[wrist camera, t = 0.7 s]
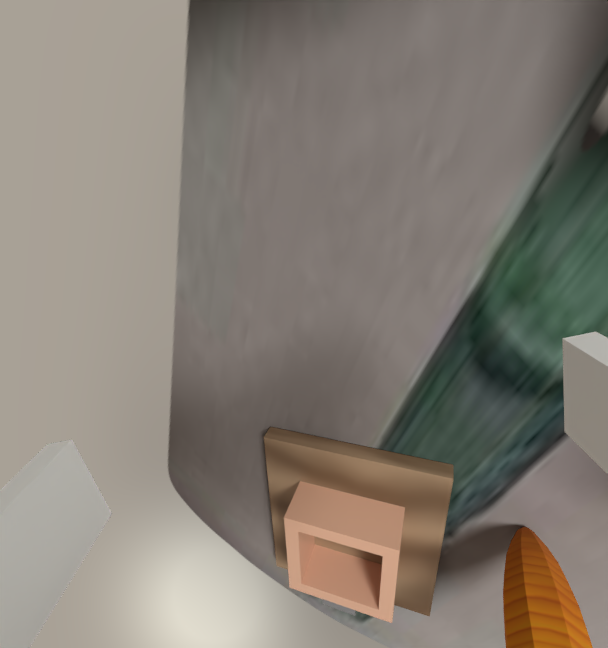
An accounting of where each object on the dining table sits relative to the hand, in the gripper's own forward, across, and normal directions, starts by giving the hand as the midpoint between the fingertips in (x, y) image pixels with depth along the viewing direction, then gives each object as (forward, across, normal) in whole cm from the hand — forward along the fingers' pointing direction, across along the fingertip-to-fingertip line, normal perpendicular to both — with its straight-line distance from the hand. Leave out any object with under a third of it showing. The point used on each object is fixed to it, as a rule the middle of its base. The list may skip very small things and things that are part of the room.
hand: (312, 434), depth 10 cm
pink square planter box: (+18, -2, -24) cm, 30 cm away
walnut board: (+20, -2, -24) cm, 31 cm away
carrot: (+15, +12, -23) cm, 30 cm away
